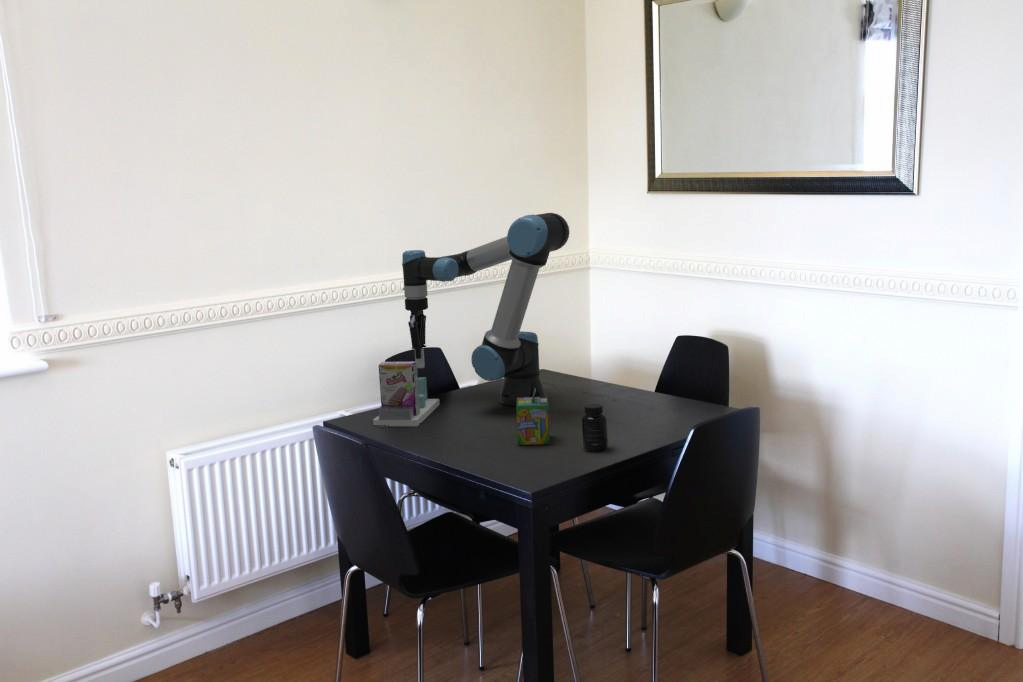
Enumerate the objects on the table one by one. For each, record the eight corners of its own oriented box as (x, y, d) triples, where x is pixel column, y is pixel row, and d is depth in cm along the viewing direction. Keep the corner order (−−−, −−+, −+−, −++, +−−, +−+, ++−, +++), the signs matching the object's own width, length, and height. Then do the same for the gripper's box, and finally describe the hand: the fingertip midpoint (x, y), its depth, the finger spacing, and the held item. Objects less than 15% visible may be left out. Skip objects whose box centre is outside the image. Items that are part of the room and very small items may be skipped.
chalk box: (517, 436, 266) (515, 386, 263) (550, 435, 266) (547, 384, 263) (517, 446, 257) (514, 394, 254) (550, 444, 256) (548, 392, 254)
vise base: (398, 404, 309) (397, 388, 308) (439, 404, 306) (438, 388, 305) (373, 426, 284) (372, 408, 283) (417, 426, 282) (416, 408, 281)
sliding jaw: (404, 398, 308) (402, 377, 307) (433, 398, 306) (431, 377, 305) (392, 407, 297) (391, 386, 295) (423, 407, 295) (421, 385, 293)
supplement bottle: (582, 445, 255) (581, 402, 252) (608, 444, 254) (606, 402, 252) (582, 452, 248) (580, 409, 246) (608, 452, 247) (606, 408, 245)
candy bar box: (381, 416, 287) (377, 364, 284) (385, 412, 292) (381, 361, 289) (416, 416, 285) (413, 364, 282) (420, 412, 290) (417, 360, 287)
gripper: (410, 294, 313) (414, 363, 317) (399, 300, 300) (403, 371, 305) (432, 294, 311) (436, 363, 316) (421, 300, 299) (425, 372, 303)
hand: (420, 367), depth 310 cm, fingers closed
